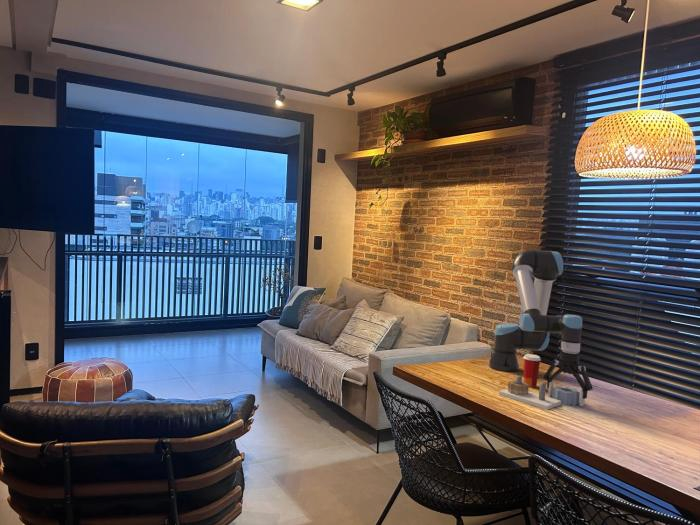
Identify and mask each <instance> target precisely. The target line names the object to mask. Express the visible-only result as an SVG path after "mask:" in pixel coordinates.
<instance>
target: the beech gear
mask: <svg viewBox="0 0 700 525" xmlns="http://www.w3.org/2000/svg"><path fill="white" fill-rule="evenodd" d="M529 388H530V387H529V385H528V383H524V381H522V384H521V385H520V384H516V380H510V381H508V384H507V389H508V391H509V393H513V394H515V395H525V394H527V395H528V391H529Z"/></svg>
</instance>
